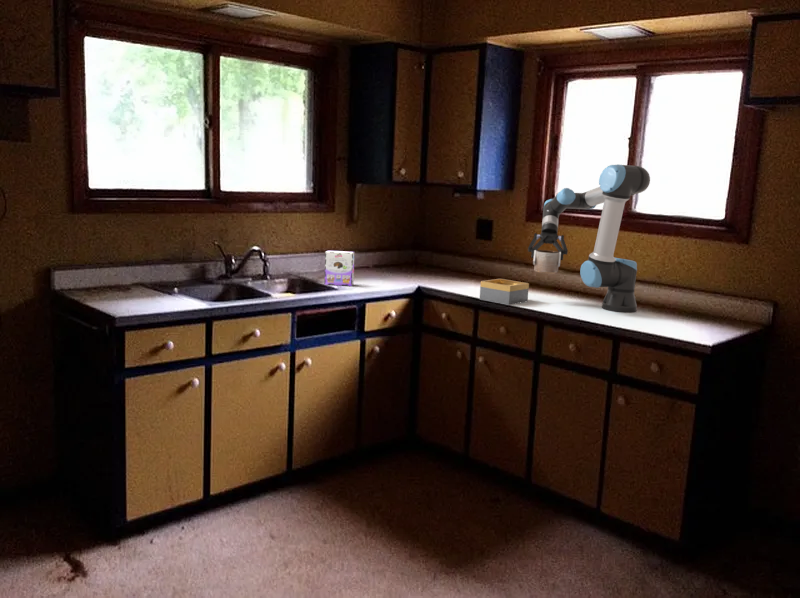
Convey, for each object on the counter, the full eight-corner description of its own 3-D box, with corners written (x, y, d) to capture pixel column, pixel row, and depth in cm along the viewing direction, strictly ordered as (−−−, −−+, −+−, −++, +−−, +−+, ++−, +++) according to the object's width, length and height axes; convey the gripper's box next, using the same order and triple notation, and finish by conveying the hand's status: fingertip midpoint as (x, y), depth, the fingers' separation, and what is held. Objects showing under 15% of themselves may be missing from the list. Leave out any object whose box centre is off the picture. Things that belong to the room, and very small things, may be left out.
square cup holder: (527, 301, 347) (529, 283, 345) (508, 304, 335) (510, 286, 333) (498, 296, 357) (500, 278, 355) (479, 299, 345) (480, 281, 344)
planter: (539, 269, 353) (540, 249, 351) (561, 272, 347) (562, 251, 345) (530, 271, 343) (532, 251, 342) (552, 274, 338) (554, 253, 336)
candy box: (353, 284, 368) (355, 251, 366) (351, 286, 363) (353, 252, 360) (326, 282, 370) (327, 249, 367) (323, 284, 364) (325, 251, 361)
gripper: (574, 234, 355) (571, 270, 343) (525, 230, 359) (520, 266, 347) (575, 223, 349) (572, 260, 336) (525, 220, 353) (521, 256, 341)
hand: (546, 263), depth 342 cm, fingers closed on planter, 11 cm apart
